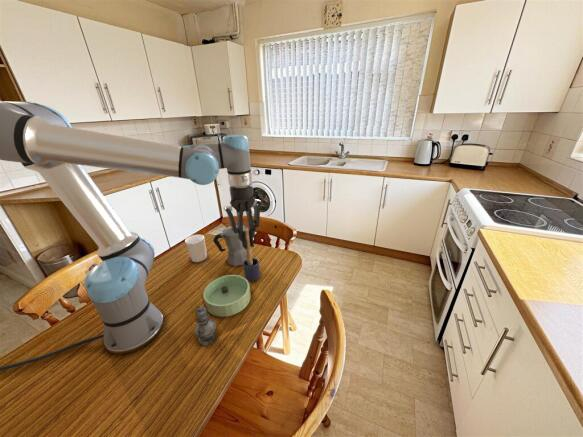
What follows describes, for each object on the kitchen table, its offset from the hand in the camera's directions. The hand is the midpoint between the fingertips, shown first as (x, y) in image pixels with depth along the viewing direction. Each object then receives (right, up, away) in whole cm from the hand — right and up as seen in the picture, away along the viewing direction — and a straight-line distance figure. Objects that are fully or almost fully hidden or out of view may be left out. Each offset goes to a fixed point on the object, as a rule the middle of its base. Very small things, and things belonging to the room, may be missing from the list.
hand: (248, 246), depth 88 cm
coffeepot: (-8, -9, +16) cm, 20 cm away
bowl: (-6, -18, -5) cm, 20 cm away
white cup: (-26, -8, +20) cm, 33 cm away
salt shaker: (-9, -25, -18) cm, 32 cm away
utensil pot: (+1, -13, +6) cm, 14 cm away
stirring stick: (0, -8, +4) cm, 9 cm away
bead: (-8, -15, -3) cm, 17 cm away
